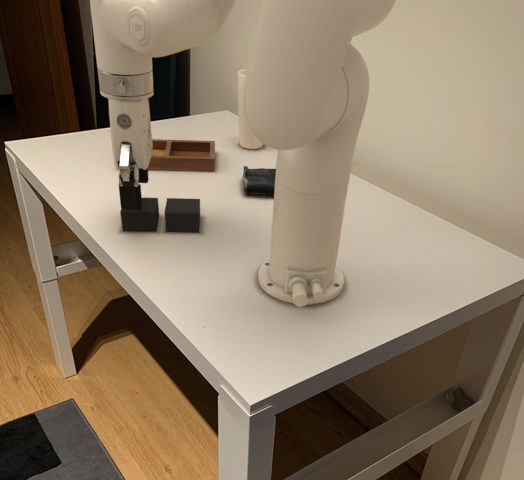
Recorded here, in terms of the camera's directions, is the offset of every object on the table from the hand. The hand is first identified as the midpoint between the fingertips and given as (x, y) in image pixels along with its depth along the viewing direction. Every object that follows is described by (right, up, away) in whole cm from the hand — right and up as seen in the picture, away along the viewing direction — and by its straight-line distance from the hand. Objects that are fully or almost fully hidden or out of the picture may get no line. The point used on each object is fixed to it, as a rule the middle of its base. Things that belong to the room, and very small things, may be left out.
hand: (135, 195), depth 90 cm
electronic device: (+24, +5, +16) cm, 30 cm away
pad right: (+7, -4, +3) cm, 9 cm away
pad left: (0, -4, +3) cm, 5 cm away
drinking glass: (+18, +20, +34) cm, 43 cm away
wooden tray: (+1, +14, +24) cm, 28 cm away
